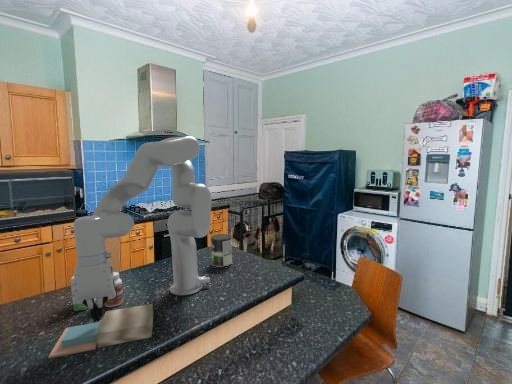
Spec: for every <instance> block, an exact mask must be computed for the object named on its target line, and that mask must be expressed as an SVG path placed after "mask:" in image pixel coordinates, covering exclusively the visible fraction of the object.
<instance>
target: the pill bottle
mask: <svg viewBox="0 0 512 384" xmlns="http://www.w3.org/2000/svg"><path fill="white" fill-rule="evenodd" d="M113 273H114V279H115V289H114V290H115V292H116V296H115V298H112V299H110V300H107V301H106V302H105V303H104V306H105V307H106V308H114V307H117V306H120V305H121V304H123V303H124V292H123V280H122V278H120V272H118V271H117V272H116V271H113Z"/></svg>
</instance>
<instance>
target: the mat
mask: <svg viewBox="0 0 512 384" xmlns="http://www.w3.org/2000/svg"><path fill="white" fill-rule="evenodd" d="M98 322H99V321H96V323H98ZM93 323H94V322H91V324H93ZM82 325H83V324H82ZM82 325H79V326H82ZM85 325H87V323H86V324H85ZM76 326H77V325H75V326H73V327H76ZM70 327H71V326H70ZM70 327H66V328H64V330H63V332H62V333H61V335H60V337H59V339H58V340H57V342H56V343H55V345H54V347H53V348H52V350H51V351H50V353H49V355H48V359H54V358H57V357H62V356H63V357H64V356H68V355H73V354H74V355H75V354H78V353H83V352H89V351H92V350H96V349H97V347H98V343H97V341H96V342H91V343H86V344H81V345H76V346H70V347H65V348H62V340H63V338H64V336H65V335H66V333H67V331H68V329H69V328H70Z"/></svg>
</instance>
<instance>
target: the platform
mask: <svg viewBox="0 0 512 384" xmlns="http://www.w3.org/2000/svg"><path fill="white" fill-rule="evenodd" d="M153 306H154V305H153V303H150V304H148V303H147V304H142V305H138V306H130V307H125V308H120V309H119V308H118V309H112V310H107V311H105V313H104V314H103V316H102V317H103V318H102V321H100V322H101V325H100V327H99V330H98V332H97V343H98V344H97V348H103V347H107V346H108V347H109V346H114V345H117V344H122V343H128V342H129V343H130V342H134V341H138V340H143V339H148V338H152V337H153V336H152V335H153V325H154V307H153Z"/></svg>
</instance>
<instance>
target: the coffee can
mask: <svg viewBox="0 0 512 384" xmlns="http://www.w3.org/2000/svg"><path fill="white" fill-rule="evenodd" d="M210 245H211V246H210V251H211V252H210V253H211V266H212V265H213V266H216V267H221V266H227V265H230V264H232V265H233V253H232V250H233V249H232V247H233V245H232V235H231V234H226V233H225V234H224V233H223V234H222V233H219V234H214V235H212V236H210ZM213 266H212V267H213ZM216 267H215V268H216Z"/></svg>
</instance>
